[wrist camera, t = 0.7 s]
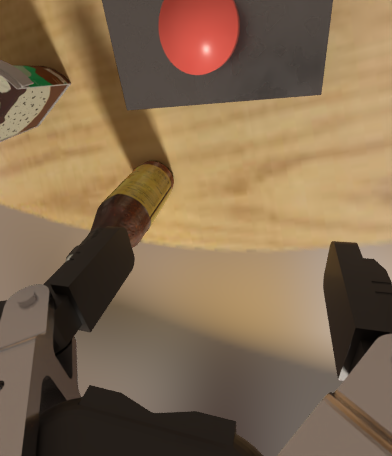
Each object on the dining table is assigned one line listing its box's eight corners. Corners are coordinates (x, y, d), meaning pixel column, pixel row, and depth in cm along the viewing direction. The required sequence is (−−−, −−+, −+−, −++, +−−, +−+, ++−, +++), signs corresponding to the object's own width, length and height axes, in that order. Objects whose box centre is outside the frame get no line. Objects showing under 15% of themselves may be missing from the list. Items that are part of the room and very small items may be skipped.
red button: (245, -16, 24) (235, -34, 18) (245, 65, 27) (238, 70, 21) (178, -4, 25) (151, -17, 20) (187, 71, 28) (165, 78, 23)
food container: (39, 30, 34) (-34, 27, 26) (77, 75, 36) (19, 85, 28) (0, 97, 40) (-69, 110, 32) (34, 132, 42) (-23, 153, 34)
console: (330, -68, 24) (344, -96, 19) (313, 86, 30) (321, 94, 25) (124, -23, 29) (93, -36, 24) (147, 101, 35) (127, 110, 30)
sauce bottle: (134, 157, 40) (41, 233, 24) (174, 161, 39) (105, 243, 23) (139, 197, 44) (62, 285, 28) (176, 201, 43) (118, 296, 27)
